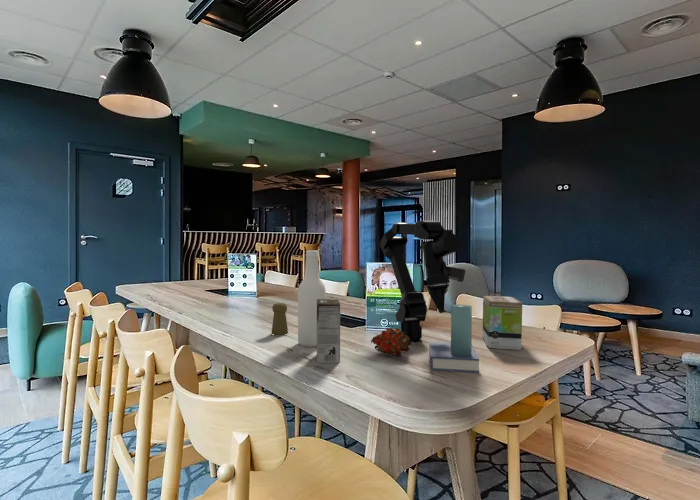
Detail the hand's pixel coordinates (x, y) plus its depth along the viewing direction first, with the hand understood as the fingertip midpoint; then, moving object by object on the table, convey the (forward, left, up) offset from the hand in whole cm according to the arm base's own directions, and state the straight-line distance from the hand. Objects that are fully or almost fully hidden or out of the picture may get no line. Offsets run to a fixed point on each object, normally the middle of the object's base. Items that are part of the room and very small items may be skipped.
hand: (441, 312), depth 117 cm
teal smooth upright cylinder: (+4, -13, -9) cm, 16 cm away
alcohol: (-41, +3, -12) cm, 43 cm away
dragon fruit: (-15, -5, -12) cm, 20 cm away
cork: (-56, +14, -12) cm, 59 cm away
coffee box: (-32, -12, -12) cm, 36 cm away
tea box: (+19, +15, -12) cm, 28 cm away
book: (+2, -9, -12) cm, 15 cm away
